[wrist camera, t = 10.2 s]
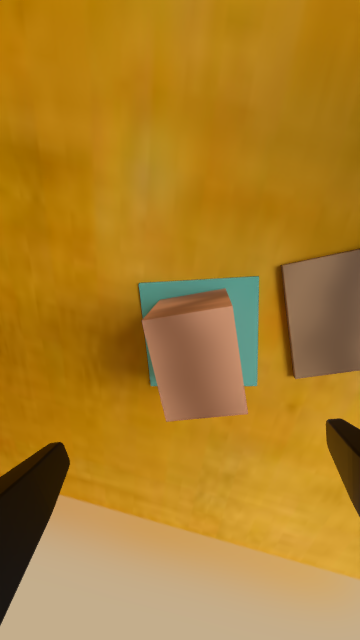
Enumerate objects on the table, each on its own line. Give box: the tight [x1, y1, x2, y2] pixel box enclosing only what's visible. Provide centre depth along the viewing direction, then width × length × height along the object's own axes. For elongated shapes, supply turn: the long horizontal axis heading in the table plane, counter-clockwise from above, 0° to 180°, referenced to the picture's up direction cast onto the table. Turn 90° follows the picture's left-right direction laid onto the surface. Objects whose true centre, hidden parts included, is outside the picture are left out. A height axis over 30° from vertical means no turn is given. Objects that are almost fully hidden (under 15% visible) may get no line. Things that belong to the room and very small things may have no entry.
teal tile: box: [139, 276, 259, 386], centre depth 18 cm, size 8×8×1 cm
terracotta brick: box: [142, 288, 248, 422], centre depth 15 cm, size 4×6×5 cm
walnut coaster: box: [281, 249, 360, 379], centre depth 16 cm, size 8×8×1 cm
